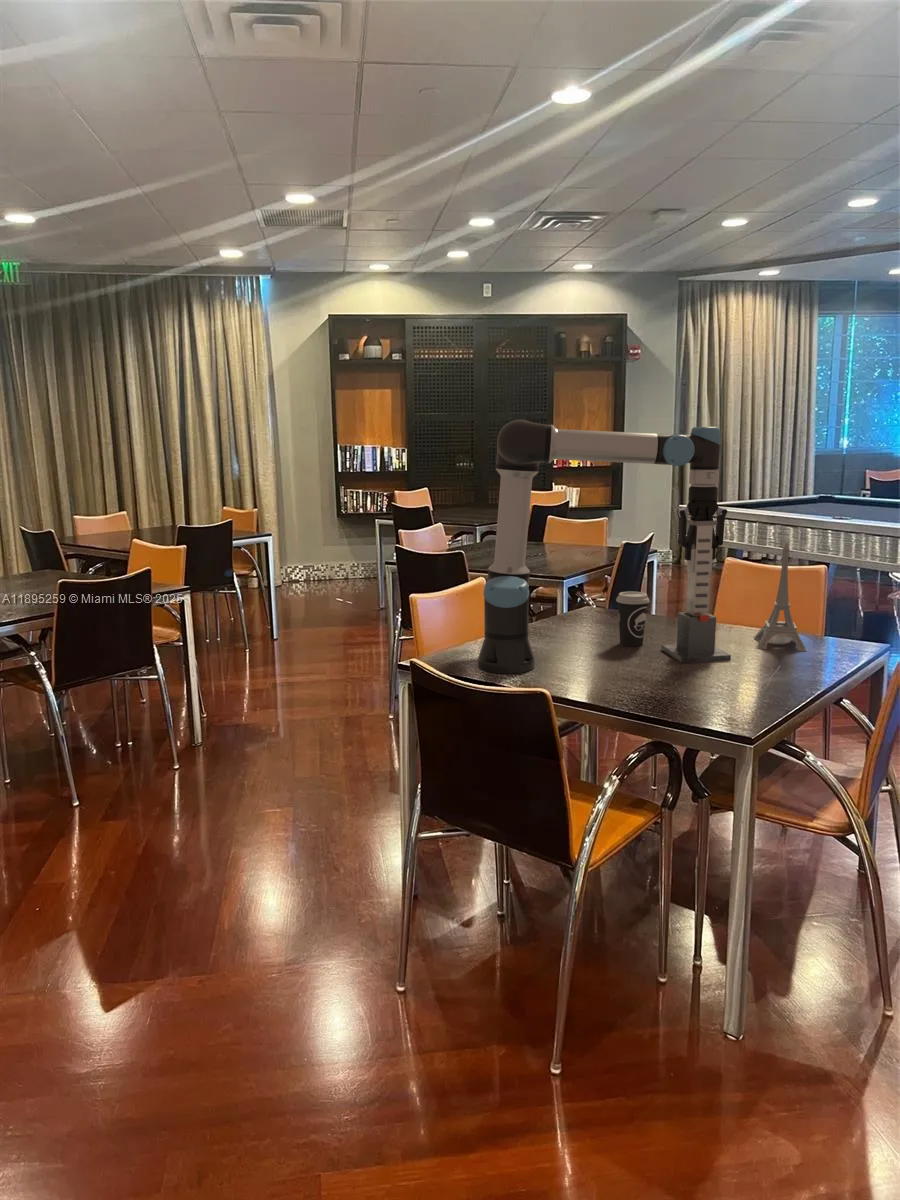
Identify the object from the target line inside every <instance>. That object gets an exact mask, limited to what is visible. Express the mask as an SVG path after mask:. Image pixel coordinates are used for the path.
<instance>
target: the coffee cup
mask: <svg viewBox="0 0 900 1200" xmlns="http://www.w3.org/2000/svg"><path fill="white" fill-rule="evenodd" d="M615 601H616V602H617V611H618V612H617V613H618V627H619V629H618V630H619V631H618V632H619V644H620V645H621V646H623V647H629V648H630V647H632V648H636V647H641V646H643V644H644V636H645V630H646V628H645V627H646V621H647V614H648V613H647V611H648V606H649V603H650V598H649V597H648V594H647V593H645V592H642V591H621V592H619V593H618V596H617V597H616V599H615Z"/></svg>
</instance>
